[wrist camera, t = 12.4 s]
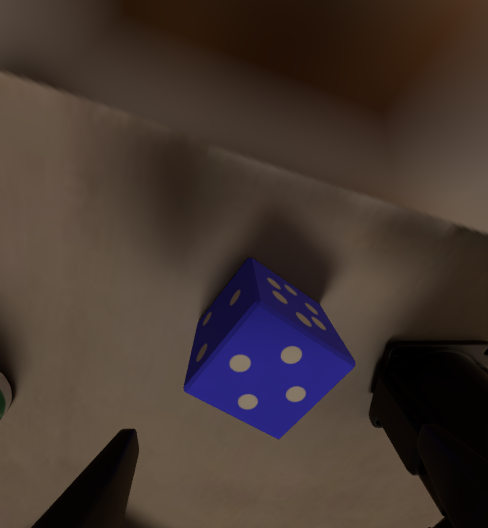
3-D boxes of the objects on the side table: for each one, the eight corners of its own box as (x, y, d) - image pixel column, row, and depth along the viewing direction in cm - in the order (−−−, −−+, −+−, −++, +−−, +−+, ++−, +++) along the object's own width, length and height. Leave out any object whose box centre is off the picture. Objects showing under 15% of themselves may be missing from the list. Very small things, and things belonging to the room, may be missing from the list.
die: (266, 363, 17) (279, 442, 12) (196, 323, 15) (180, 393, 11) (320, 304, 15) (359, 366, 11) (249, 254, 14) (257, 300, 9)
